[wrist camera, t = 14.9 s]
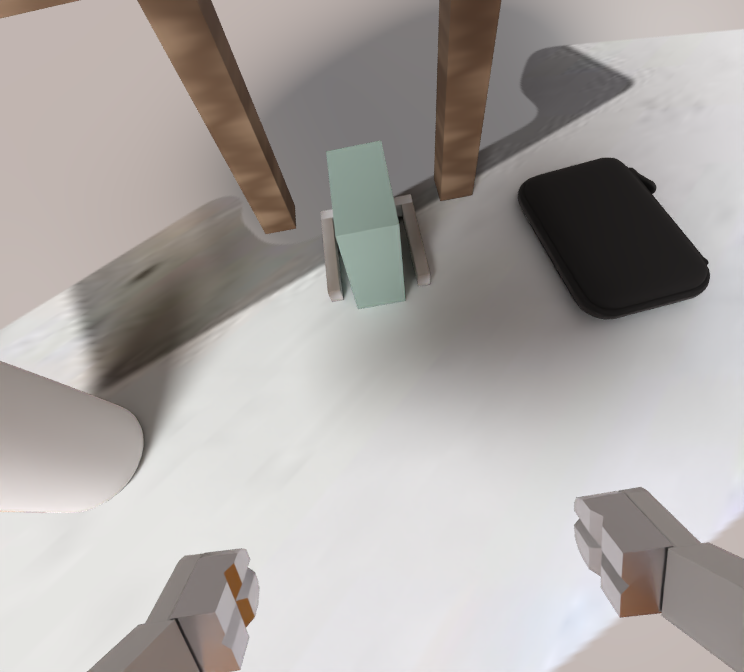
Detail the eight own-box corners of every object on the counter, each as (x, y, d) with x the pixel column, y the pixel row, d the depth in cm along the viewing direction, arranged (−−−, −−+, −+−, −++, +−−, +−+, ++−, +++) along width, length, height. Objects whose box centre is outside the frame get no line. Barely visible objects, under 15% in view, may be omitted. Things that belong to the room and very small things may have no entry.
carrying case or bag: (721, 297, 28) (617, 168, 35) (753, 273, 25) (634, 139, 32) (583, 333, 28) (506, 198, 35) (600, 313, 25) (513, 171, 32)
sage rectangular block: (358, 309, 31) (335, 236, 23) (348, 236, 35) (326, 151, 27) (405, 300, 31) (399, 224, 23) (390, 228, 35) (380, 140, 27)
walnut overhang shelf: (265, 334, 31) (-78, -73, 10) (265, 211, 38) (57, -198, 16) (506, 291, 30) (706, -265, 9) (464, 173, 36) (522, -318, 15)
